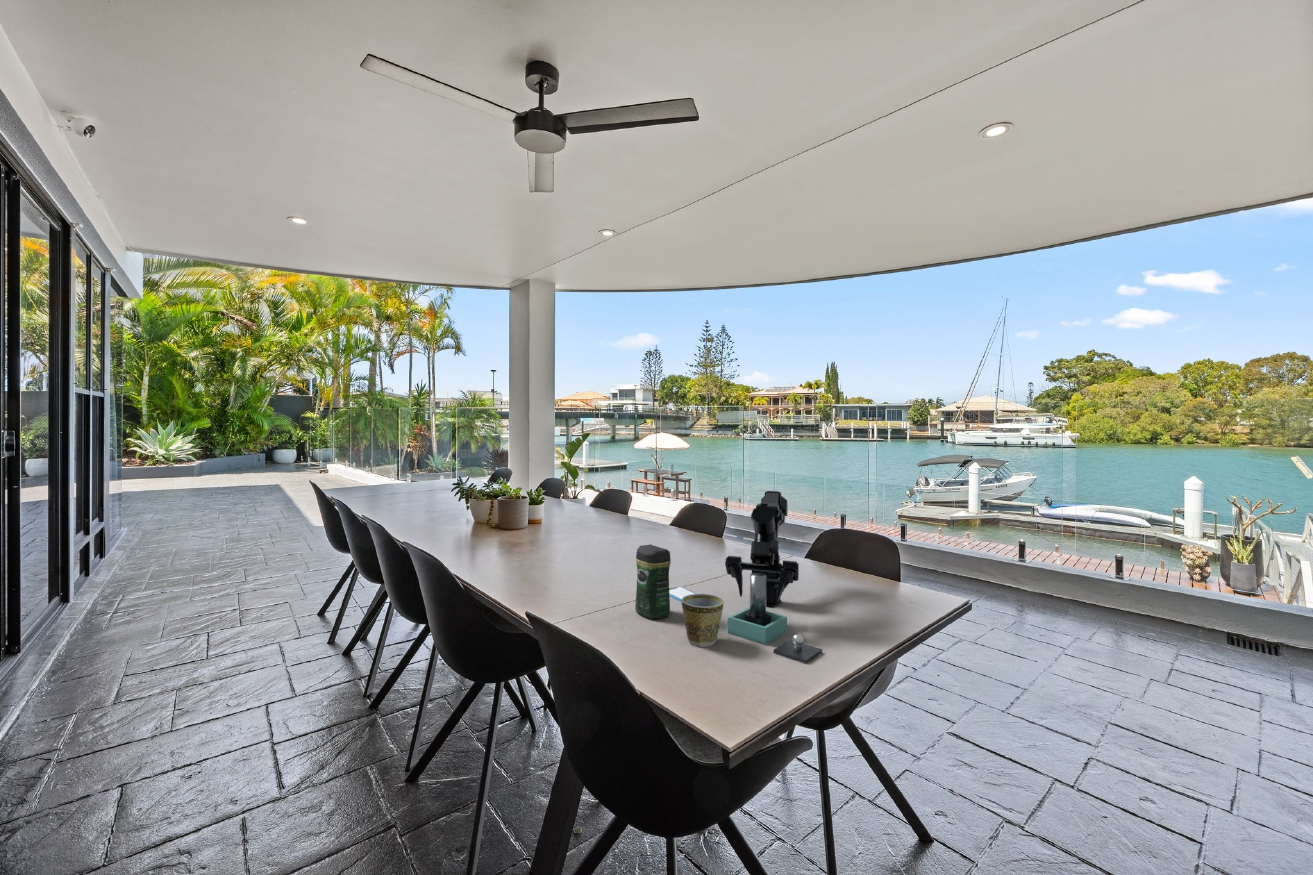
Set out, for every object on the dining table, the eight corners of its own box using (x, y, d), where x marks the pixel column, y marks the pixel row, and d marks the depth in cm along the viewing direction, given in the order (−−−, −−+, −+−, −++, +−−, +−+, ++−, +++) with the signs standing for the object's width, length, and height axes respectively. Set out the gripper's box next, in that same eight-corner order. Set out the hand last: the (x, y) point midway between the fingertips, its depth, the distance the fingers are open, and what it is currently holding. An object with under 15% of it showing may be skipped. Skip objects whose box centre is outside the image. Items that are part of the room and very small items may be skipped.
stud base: (773, 653, 123) (773, 634, 123) (790, 642, 129) (790, 624, 129) (806, 663, 118) (806, 644, 118) (822, 652, 124) (822, 633, 124)
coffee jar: (674, 616, 146) (675, 547, 146) (651, 622, 141) (652, 551, 141) (653, 606, 154) (654, 541, 153) (630, 611, 149) (631, 544, 149)
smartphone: (692, 605, 154) (661, 590, 166) (692, 609, 154) (661, 593, 166) (712, 600, 158) (680, 586, 171) (711, 604, 158) (680, 589, 171)
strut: (744, 628, 136) (745, 574, 135) (758, 625, 138) (759, 571, 138) (756, 635, 132) (757, 578, 132) (770, 631, 134) (771, 576, 134)
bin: (727, 633, 135) (727, 617, 134) (750, 621, 142) (750, 606, 142) (765, 645, 128) (765, 628, 127) (786, 632, 135) (787, 616, 135)
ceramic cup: (728, 649, 125) (728, 606, 125) (685, 651, 123) (686, 608, 123) (713, 628, 138) (713, 589, 138) (674, 629, 136) (675, 590, 136)
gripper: (726, 525, 144) (718, 578, 134) (799, 530, 138) (796, 586, 128) (731, 548, 152) (723, 599, 142) (799, 553, 146) (797, 607, 136)
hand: (758, 597), depth 137 cm, fingers open, 9 cm apart
